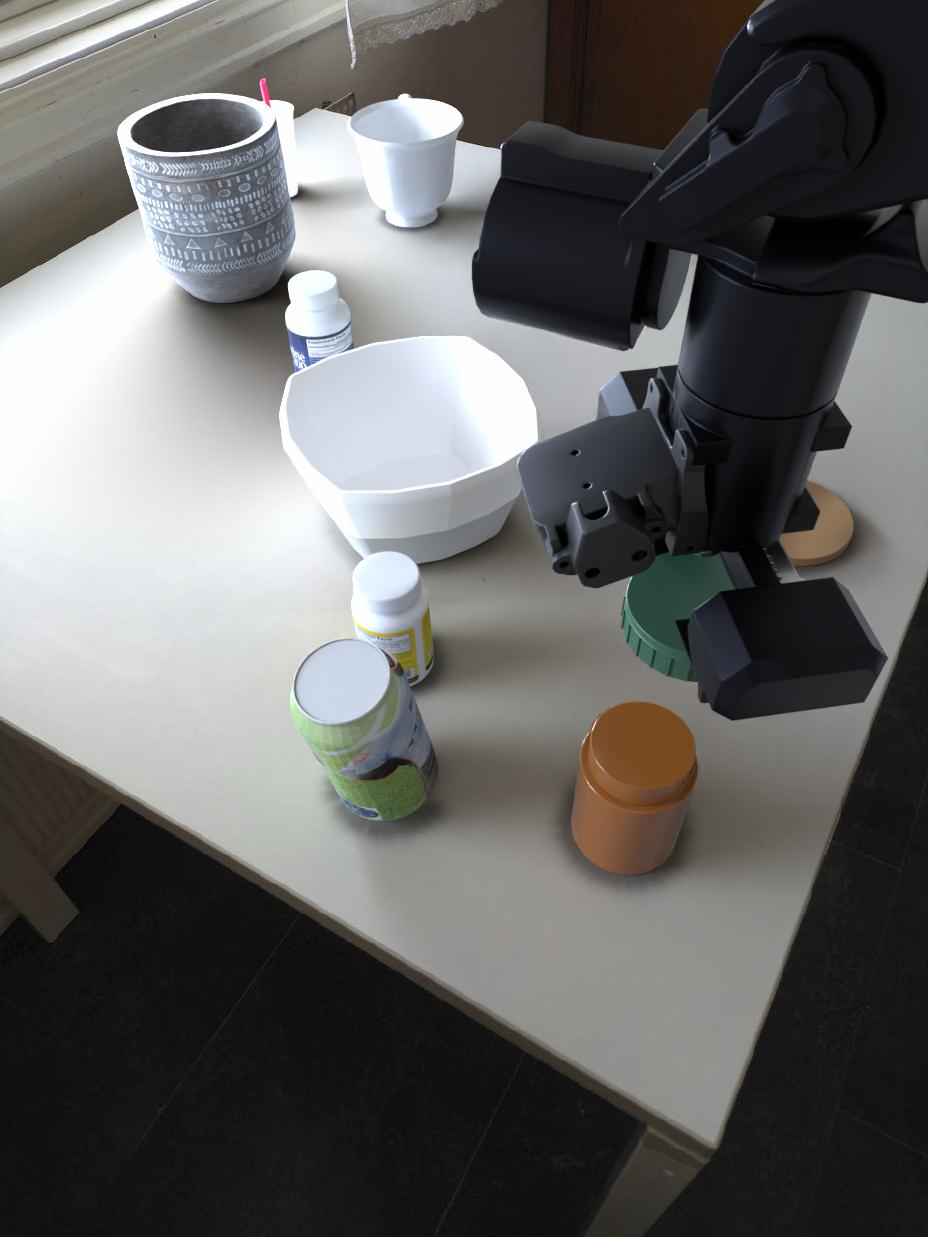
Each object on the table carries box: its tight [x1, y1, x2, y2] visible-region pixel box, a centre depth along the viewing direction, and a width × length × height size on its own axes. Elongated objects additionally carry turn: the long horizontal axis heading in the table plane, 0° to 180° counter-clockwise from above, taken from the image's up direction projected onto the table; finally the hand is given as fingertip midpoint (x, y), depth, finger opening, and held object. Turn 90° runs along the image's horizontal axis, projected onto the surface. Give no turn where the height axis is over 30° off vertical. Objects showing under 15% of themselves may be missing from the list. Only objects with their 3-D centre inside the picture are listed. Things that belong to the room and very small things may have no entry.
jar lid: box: [620, 552, 735, 683], centre depth 43 cm, size 7×7×2 cm
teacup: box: [346, 93, 465, 229], centre depth 98 cm, size 12×15×10 cm
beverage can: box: [289, 637, 439, 822], centre depth 49 cm, size 6×7×12 cm
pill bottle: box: [284, 269, 355, 373], centre depth 76 cm, size 5×5×10 cm
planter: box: [117, 93, 297, 304], centre depth 87 cm, size 14×14×15 cm
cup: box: [259, 78, 299, 198], centre depth 100 cm, size 5×5×12 cm
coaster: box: [779, 479, 855, 567], centre depth 67 cm, size 9×9×1 cm
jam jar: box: [570, 700, 700, 876], centre depth 48 cm, size 6×6×9 cm
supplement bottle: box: [351, 552, 435, 687], centre depth 56 cm, size 5×5×8 cm
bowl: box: [279, 335, 542, 565], centre depth 65 cm, size 18×18×9 cm
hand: (686, 643), depth 45 cm, fingers closed on jar lid, 6 cm apart
